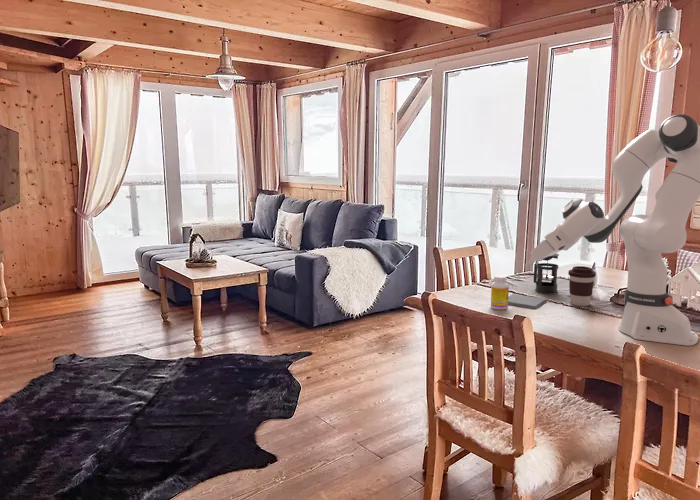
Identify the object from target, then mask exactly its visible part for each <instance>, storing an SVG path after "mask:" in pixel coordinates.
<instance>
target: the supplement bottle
mask: <svg viewBox="0 0 700 500" xmlns="http://www.w3.org/2000/svg"><path fill="white" fill-rule="evenodd" d="M507 278H508V276H506V275H501V274H496V275H494V276H493V280H494V281H492V283H491V287H490V307H491V308H492V309H493V310H499V311H501V310H502V311H503V310H507V309H508V308H509V305H508V296H509V289H510V288H509V287H510V285H509V283H508V282H507Z"/></svg>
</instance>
